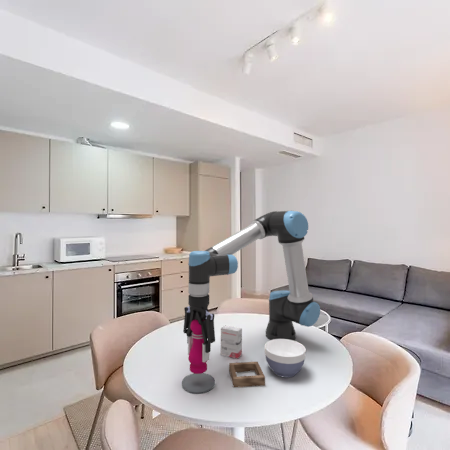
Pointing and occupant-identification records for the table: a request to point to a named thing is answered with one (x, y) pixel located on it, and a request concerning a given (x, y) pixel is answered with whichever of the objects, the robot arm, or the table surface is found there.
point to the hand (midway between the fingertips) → (198, 357)
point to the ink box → (231, 341)
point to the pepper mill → (197, 349)
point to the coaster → (198, 383)
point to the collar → (246, 380)
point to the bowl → (285, 356)
